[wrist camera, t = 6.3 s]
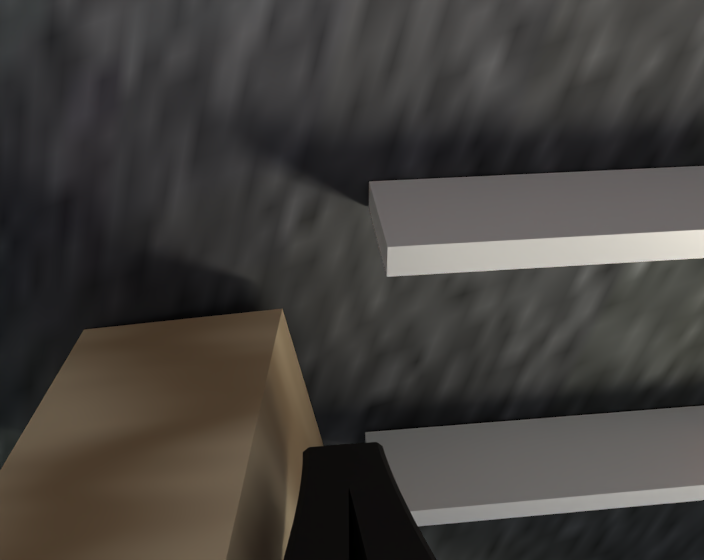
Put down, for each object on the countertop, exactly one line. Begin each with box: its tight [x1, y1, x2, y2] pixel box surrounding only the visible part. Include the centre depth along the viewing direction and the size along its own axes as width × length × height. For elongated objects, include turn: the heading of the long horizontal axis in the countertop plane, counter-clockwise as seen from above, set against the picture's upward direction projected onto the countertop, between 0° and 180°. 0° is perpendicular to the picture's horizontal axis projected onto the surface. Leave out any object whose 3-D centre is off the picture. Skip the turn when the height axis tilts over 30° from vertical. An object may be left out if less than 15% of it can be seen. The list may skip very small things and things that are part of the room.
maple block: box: [0, 309, 324, 560], centre depth 13 cm, size 4×4×6 cm
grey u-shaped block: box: [365, 166, 704, 526], centre depth 15 cm, size 13×8×2 cm, turn 90°
